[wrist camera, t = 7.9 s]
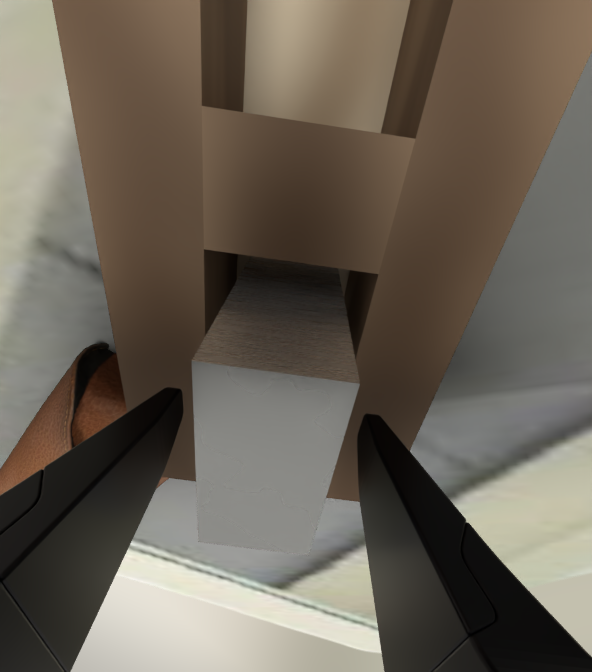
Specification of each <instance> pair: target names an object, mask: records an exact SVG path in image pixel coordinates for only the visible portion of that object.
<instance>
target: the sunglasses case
mask: <svg viewBox="0 0 592 672" xmlns="http://www.w3.org/2000/svg"><path fill="white" fill-rule="evenodd" d="M108 347H109V345H108V344H107V343H100V344H93V345H91V346H89V347H87V348H85V349H84V350H83V351H82V352H81V353H80V354H79V355H78V356H77V358H76V359H75V360H74V362H73V364H72V365H71V367H70V368H69V369H68V370H67V372H66V373H65V375H64V376H63V377H62V379H61V380H60V382H59V383H58V384H57V386H56V387H55V389H54V390H53V391H52V392H51V394H50V396H49V397H48V398H47V400H46V401H45V402H44V404H43V405H42V407H41V408H40V410H39V411H38V413H37V414H36V416H35V417H34V419H33V420H32V422H31V423H30V425H29V426H28V428H27V429H26V431H25V433H24V434H23V435H22V437H21V438H20V440H19V442H18V443H17V445H16V446H15V448H14V449H13V451H12V452H11V454H10V455H9V457H8V459H7V460H6V462H5V463H4V464H3V466H2V467H1V469H0V495H1V494H3V493H4V492H6V491H7V490H9V489H11V488H12V487H14V486H15V485H17V484H19V483H20V482H22V481H23V480H25V479H26V478H28V477H29V476H31V475H32V474H34V473H35V472H37V471H39V470H40V469H43V470H44V467H45V466H46V465H48V464H49V463H51V462H52V461H54V460H56V459H57V458H59V457H60V456H62V455H63V454H65V453H66V452H68V451H69V450H71V449H72V448H74V447H75V446H77V445H78V444H80V443H81V442H83V441H84V440H86V439H88V438H89V437H91V436H92V435H94V434H95V433H97V432H98V431H100V430H101V429H103V428H104V427H106V426H107V425H109V424H110V423H112V422H113V421H115V420H117V419H118V418H120V417H121V416H123V415H124V414H126V413H127V408H126V402H125V397H124V391H123V386H122V380H121V375H120V369H119V364H118V359H117V354H116V353H114V352H112V351H110V350H108ZM167 479H169V478H166V477H161V479H160V481H159V483H158V486H157V488H158V487H159V486H160V485H161V484H162V483H163V482H165V481H166V480H167Z"/></svg>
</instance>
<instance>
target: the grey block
mask: <svg viewBox="0 0 592 672" xmlns="http://www.w3.org/2000/svg"><path fill="white" fill-rule="evenodd" d="M192 386H193V412H194V439H195V465H196V491H197V518H198V542H203V543H211V544H219V545H227V546H235V547H244V548H252V549H260V550H268V551H276V552H284V553H293V554H301V555H309V553H310V550H311V546H312V543H313V540H314V536H315V533H316V529H317V526H318V523H319V519H320V516H321V513H322V509H323V506H324V503H325V499H326V496H327V493H328V489H329V486H330V483H331V479H332V476H333V473H334V469H335V466H336V463H337V459H338V456H339V452H340V449H341V446H342V442H343V439H344V436H345V432H346V429H347V426H348V422H349V419H350V416H351V412H352V409H353V406H354V402H355V399H356V396H357V392H358V389H359V386H360V381H359V376H358V371H357V365H356V360H355V355H354V350H353V344H352V339H351V334H350V329H349V323H348V318H347V313H346V308H345V302H344V297H343V292H342V287H341V281H340V276H339V271H338V268H332V267H325V266H318V265H311V264H304V263H297V262H290V261H283V260H276V259H269V258H262V257H255V256H251V257H250V258H249V260H248V262H247V264H246V265H245V267H244V269H243V271H242V272H241V274H240V276H239V278H238V280H237V281H236V283H235V285H234V287H233V288H232V290H231V292H230V294H229V295H228V297H227V299H226V301H225V303H224V304H223V306H222V308H221V310H220V311H219V313H218V315H217V317H216V318H215V320H214V322H213V324H212V326H211V327H210V329H209V331H208V333H207V334H206V336H205V338H204V340H203V341H202V343H201V345H200V347H199V349H198V350H197V352H196V354H195V356H194V357H193V359H192Z"/></svg>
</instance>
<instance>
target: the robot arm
mask: <svg viewBox="0 0 592 672" xmlns="http://www.w3.org/2000/svg"><path fill="white" fill-rule="evenodd" d="M183 412H184V409H183V393H182V390H181V389H180V388H173V387H166V388H164V389H162V390H161V391H159V392H158V393H156V394H155V395H153V396H152V397H150V398H149V399H147V400H145V401H144V402H142V403H141V404H139V405H138V406H136V407H135V408H133V409H132V410H130V411H129V412H127V413H126V414H124V415H123V416H121V417H120V418H118V419H117V420H115V421H113V422H112V423H110V424H109V425H107V426H106V427H104V428H103V429H101V430H100V431H98V432H97V433H95V434H94V435H92V436H91V437H89V438H88V439H86V440H84V441H83V442H81V443H80V444H78V445H77V446H75V447H74V448H72V449H71V450H69V451H68V452H66V453H65V454H63V455H62V456H60V457H59V458H57V459H56V460H54V461H52V462H51V463H49V464H48V465H46V466H45V467H44V470H43V469H40V470H39V471H37V472H35V473H34V474H32V475H31V476H29V477H28V478H26V479H25V480H23V481H22V482H20V483H19V484H17V485H15V486H14V487H12V488H11V489H9V490H7V491H6V492H4V493H3V494H1V495H0V672H70V671H71V669H72V667H73V665H74V662H75V660H76V658H77V656H78V654H79V652H80V650H81V648H82V645H83V643H84V641H85V639H86V637H87V635H88V633H89V631H90V629H91V626H92V624H93V622H94V620H95V618H96V616H97V613H98V611H99V609H100V607H101V605H102V603H103V601H104V598H105V596H106V594H107V592H108V590H109V588H110V586H111V584H112V582H113V579H114V577H115V575H116V573H117V571H118V569H119V567H120V565H121V562H122V560H123V558H124V556H125V554H126V552H127V550H128V547H129V545H130V543H131V541H132V539H133V537H134V535H135V533H136V530H137V528H138V526H139V524H140V522H141V520H142V518H143V515H144V513H145V511H146V509H147V507H148V505H149V503H150V501H151V498H152V496H153V494H154V492H155V490H156V488H157V486H158V483H159V481H160V479H161V477H162V475H163V472H164V470H165V468H166V465H167V462H168V459H169V456H170V453H171V450H172V448H173V445H174V442H175V439H176V436H177V433H178V430H179V427H180V424H181V421H182V418H183ZM357 456H358V487H359V499H360V506H361V513H362V520H363V527H364V534H365V541H366V548H367V555H368V561H369V568H370V575H371V582H372V589H373V596H374V603H375V610H376V616H377V623H378V630H379V637H380V644H381V651H382V657H383V664H384V671H385V672H592V657H591V656H590V655H589V654H588V653H587V652H586V651H585V650H584V649H583V648H582V647H581V646H580V644H579V643H578V642H577V641H576V640H575V639H574V638H573V637H572V636H571V635H570V634H569V633H568V632H567V631H566V630H565V629H564V628H563V627H562V626H561V624H560V623H559V622H558V621H557V620H556V619H555V618H554V617H553V616H552V615H551V614H550V613H549V612H548V611H547V610H546V609H545V608H544V607H543V605H541V603H540V602H539V601H538V600H537V599H536V598H535V597H534V596H533V595H532V594H531V593H530V592H529V591H528V590H527V589H526V588H525V586H524V585H523V584H522V583H521V582H520V581H519V580H518V579H517V578H516V577H515V576H514V575H513V573H512V572H511V571H510V570H509V569H508V568H507V567H506V566H505V565H504V564H503V563H502V561H501V560H500V559H499V558H498V557H497V556H496V555H495V553H494V552H493V551H492V550H491V549H490V548H489V546H488V545H487V544H486V543H485V542H484V541H483V539H482V538H481V537H480V536H479V535H478V533H477V532H476V531H475V530H474V529H473V527H472V526H471V525H470V524H469V523H466V519H465V518H464V517H463V515H462V514H461V513H460V512H459V511H458V509H457V508H456V507H455V506H454V505H453V503H452V502H451V501H450V500H449V498H448V497H447V496H446V495H445V494H444V492H443V491H442V490H441V489H440V488H439V486H438V485H437V484H436V483H435V481H434V480H433V479H432V478H431V477H430V475H429V474H428V473H427V472H426V471H425V469H424V468H423V467H422V466H421V464H420V463H419V462H418V461H417V460H416V458H415V457H414V456H413V455H412V454H411V452H410V451H409V450H408V449H407V447H406V446H405V445H404V444H403V443H402V441H401V440H400V439H399V438H398V437H397V435H396V434H395V433H394V432H393V430H392V429H391V428H390V427H389V426H388V424H387V423H386V422H385V421H384V420H383V418H382V417H381V416H380V415H377V414H370V413H366V414H365V415H364V416H363V419H362V422H361V425H360V428H359V432H358V436H357Z"/></svg>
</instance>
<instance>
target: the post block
mask: <svg viewBox="0 0 592 672" xmlns="http://www.w3.org/2000/svg"><path fill="white" fill-rule="evenodd" d="M52 2H53V8H54V13H55V19H56V24H57V30H58V35H59V41H60V46H61V52H62V57H63V63H64V68H65V74H66V79H67V85H68V90H69V96H70V101H71V106H72V112H73V117H74V123H75V128H76V134H77V139H78V145H79V150H80V156H81V161H82V167H83V172H84V178H85V183H86V189H87V194H88V200H89V205H90V211H91V216H92V222H93V227H94V232H95V238H96V243H97V249H98V254H99V260H100V265H101V271H102V276H103V282H104V287H105V293H106V298H107V304H108V309H109V315H110V320H111V326H112V331H113V337H114V342H115V348H116V353H117V359H118V364H119V369H120V375H121V380H122V386H123V391H124V397H125V402H126V408H127V412H129V411H130V410H132V409H133V408H135V407H136V406H138V405H139V404H141V403H142V402H144V401H145V400H147V399H149V398H150V397H152V396H153V395H155V394H156V393H158V392H159V391H161V390H162V389H164V388H166V387H173V388H180V389H181V390H182V393H183V409H184V412H183V418H182V421H181V424H180V427H179V430H178V433H177V436H176V439H175V442H174V445H173V448H172V450H171V453H170V456H169V459H168V462H167V465H166V468H165V470H164V472H163V475H162V477H166V478H174V479H182V480H190V481H196V465H195V439H194V412H193V386H192V359H193V357H194V356H195V354H196V352H197V350H198V349H199V347H200V345H201V343H202V341H203V340H204V338H205V336H206V334H207V333H208V331H209V329H210V327H211V326H212V324H213V322H214V320H215V318H216V317H217V315H218V313H219V311H220V310H221V308H222V306H223V304H224V303H225V301H226V299H227V297H228V295H229V294H230V292H231V290H232V288H233V287H234V285H235V283H236V281H237V280H238V278H239V276H240V274H241V272H242V271H243V269H244V267H245V265H246V264H247V262H248V260H249V258H250V257H251V256H255V257H262V258H269V259H276V260H283V261H290V262H297V263H304V264H311V265H318V266H325V267H332V268H338V271H339V276H340V281H341V287H342V292H343V297H344V302H345V308H346V313H347V318H348V323H349V329H350V334H351V339H352V344H353V350H354V355H355V360H356V365H357V371H358V376H359V381H360V386H359V389H358V392H357V396H356V399H355V402H354V406H353V409H352V412H351V416H350V419H349V422H348V426H347V429H346V432H345V436H344V439H343V442H342V446H341V449H340V452H339V456H338V459H337V463H336V466H335V469H334V473H333V476H332V479H331V483H330V486H329V489H328V493H327V496H326V498H334V499H342V500H350V501H358V502H360V499H359V487H358V456H357V436H358V432H359V428H360V425H361V422H362V419H363V416H364V415H365V414H366V413H370V414H377V415H380V416H381V417H382V418H383V420H384V421H385V422H386V423H387V424H388V426H389V427H390V428H391V429H392V430H393V432H394V433H395V434H396V435H397V437H398V438H399V439H400V440H401V441H402V443H403V444H404V445H405V446H406V447H407V449H408V450H409V451H410V449H411V447H412V444H413V442H414V440H415V438H416V436H417V433H418V431H419V429H420V427H421V425H422V422H423V420H424V418H425V416H426V414H427V412H428V409H429V407H430V405H431V403H432V401H433V398H434V396H435V394H436V392H437V390H438V387H439V385H440V383H441V381H442V379H443V376H444V374H445V372H446V370H447V368H448V365H449V363H450V361H451V359H452V357H453V354H454V352H455V350H456V348H457V346H458V344H459V341H460V339H461V337H462V335H463V333H464V330H465V328H466V326H467V324H468V322H469V319H470V317H471V315H472V313H473V311H474V308H475V306H476V304H477V302H478V300H479V297H480V295H481V293H482V291H483V289H484V286H485V284H486V282H487V280H488V278H489V276H490V273H491V271H492V269H493V267H494V265H495V262H496V260H497V258H498V256H499V254H500V251H501V249H502V247H503V245H504V243H505V240H506V238H507V236H508V234H509V232H510V229H511V227H512V225H513V223H514V221H515V218H516V216H517V214H518V212H519V210H520V207H521V205H522V203H523V201H524V199H525V197H526V194H527V192H528V190H529V188H530V186H531V183H532V181H533V179H534V177H535V175H536V172H537V170H538V168H539V166H540V164H541V161H542V159H543V157H544V155H545V153H546V150H547V148H548V146H549V144H550V142H551V139H552V137H553V135H554V133H555V131H556V129H557V126H558V124H559V122H560V120H561V118H562V115H563V113H564V111H565V109H566V107H567V104H568V102H569V100H570V98H571V96H572V93H573V91H574V89H575V87H576V85H577V82H578V80H579V78H580V76H581V74H582V71H583V69H584V67H585V65H586V63H587V61H588V58H589V56H590V54H591V52H592V0H52Z"/></svg>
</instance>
